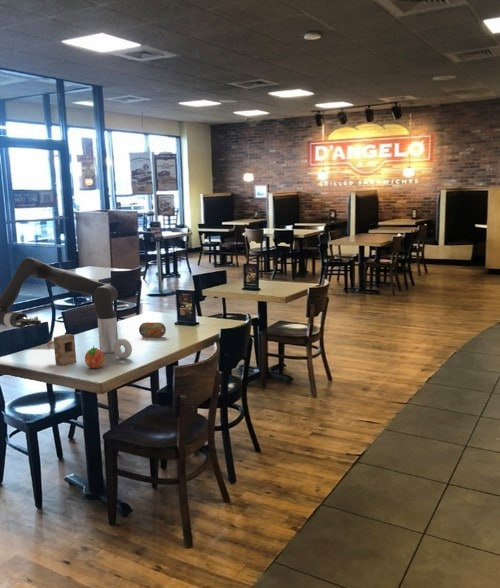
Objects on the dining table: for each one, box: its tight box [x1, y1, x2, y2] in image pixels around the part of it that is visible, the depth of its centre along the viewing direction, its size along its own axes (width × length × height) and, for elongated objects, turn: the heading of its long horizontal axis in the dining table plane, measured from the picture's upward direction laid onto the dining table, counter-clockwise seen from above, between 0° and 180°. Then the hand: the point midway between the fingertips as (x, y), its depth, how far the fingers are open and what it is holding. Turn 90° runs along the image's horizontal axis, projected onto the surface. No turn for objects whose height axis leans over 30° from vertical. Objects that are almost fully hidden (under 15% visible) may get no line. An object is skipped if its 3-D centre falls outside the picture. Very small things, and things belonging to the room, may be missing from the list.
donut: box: [113, 337, 133, 360], centre depth 278 cm, size 10×4×10 cm, turn 66°
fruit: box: [84, 345, 105, 369], centre depth 264 cm, size 9×10×10 cm
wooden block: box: [52, 333, 77, 367], centre depth 273 cm, size 5×8×13 cm, turn 150°
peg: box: [46, 340, 67, 350], centre depth 276 cm, size 9×4×4 cm, turn 60°
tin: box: [138, 321, 167, 339], centre depth 321 cm, size 15×3×8 cm, turn 76°
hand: (39, 322), depth 279 cm, fingers closed
